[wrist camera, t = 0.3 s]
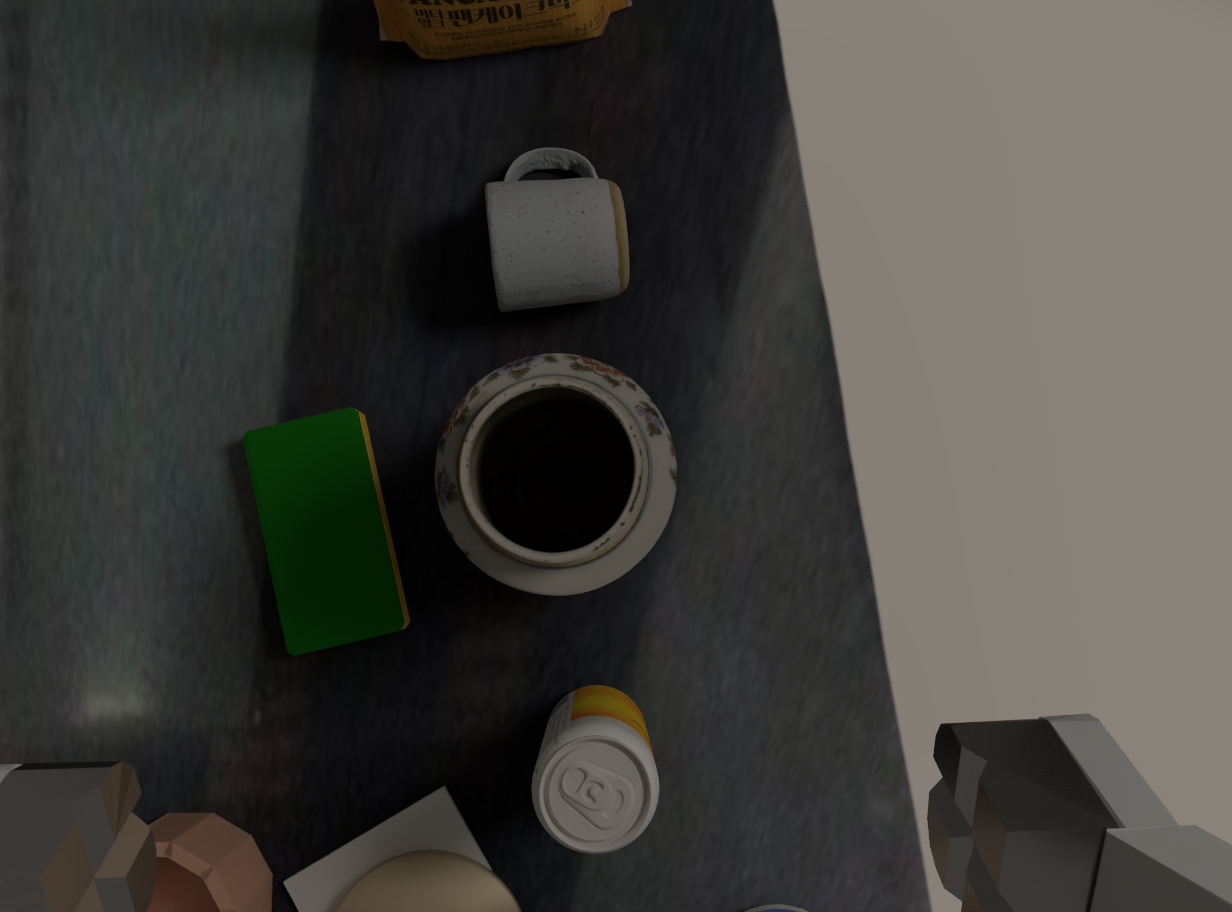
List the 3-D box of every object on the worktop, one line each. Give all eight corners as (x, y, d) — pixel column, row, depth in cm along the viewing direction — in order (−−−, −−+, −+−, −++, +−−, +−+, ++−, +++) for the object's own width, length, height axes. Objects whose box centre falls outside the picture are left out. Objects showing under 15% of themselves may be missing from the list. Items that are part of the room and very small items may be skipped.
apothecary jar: (435, 526, 63) (370, 520, 45) (527, 357, 64) (500, 286, 46) (607, 618, 63) (610, 649, 45) (697, 447, 64) (735, 410, 46)
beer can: (612, 803, 62) (616, 886, 47) (527, 750, 62) (505, 816, 47) (664, 717, 62) (684, 772, 47) (580, 664, 63) (574, 702, 48)
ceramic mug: (631, 309, 65) (635, 275, 57) (503, 325, 64) (490, 293, 57) (609, 149, 66) (610, 95, 58) (482, 165, 65) (467, 112, 58)
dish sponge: (299, 653, 63) (287, 657, 60) (254, 436, 64) (240, 432, 62) (412, 626, 63) (404, 629, 61) (365, 410, 64) (355, 405, 62)
